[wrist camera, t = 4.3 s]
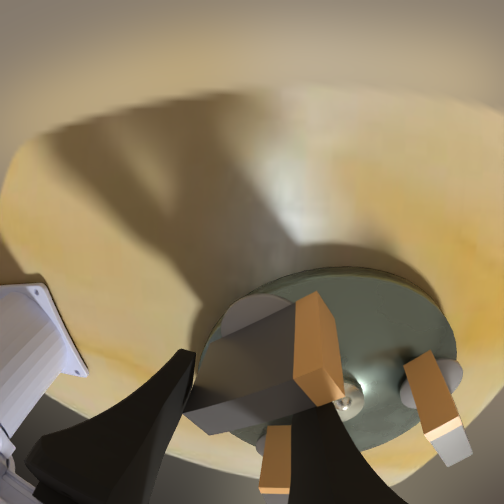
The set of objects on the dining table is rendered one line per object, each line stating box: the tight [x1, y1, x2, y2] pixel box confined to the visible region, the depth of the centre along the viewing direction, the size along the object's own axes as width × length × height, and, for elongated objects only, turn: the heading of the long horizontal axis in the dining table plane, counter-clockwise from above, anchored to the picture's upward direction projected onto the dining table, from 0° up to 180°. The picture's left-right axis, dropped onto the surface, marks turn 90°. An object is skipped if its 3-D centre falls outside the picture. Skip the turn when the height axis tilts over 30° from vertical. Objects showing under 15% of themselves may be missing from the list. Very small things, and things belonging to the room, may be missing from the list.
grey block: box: [256, 425, 291, 504], centre depth 15 cm, size 6×4×5 cm
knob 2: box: [400, 349, 473, 467], centre depth 12 cm, size 6×4×5 cm
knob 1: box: [182, 291, 345, 435], centre depth 11 cm, size 6×4×5 cm
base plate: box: [198, 267, 457, 452], centre depth 15 cm, size 15×15×2 cm
